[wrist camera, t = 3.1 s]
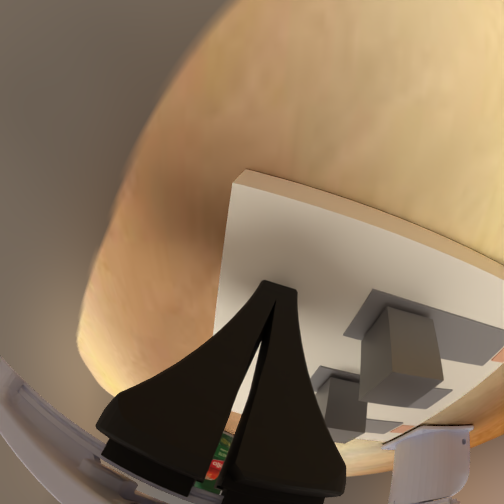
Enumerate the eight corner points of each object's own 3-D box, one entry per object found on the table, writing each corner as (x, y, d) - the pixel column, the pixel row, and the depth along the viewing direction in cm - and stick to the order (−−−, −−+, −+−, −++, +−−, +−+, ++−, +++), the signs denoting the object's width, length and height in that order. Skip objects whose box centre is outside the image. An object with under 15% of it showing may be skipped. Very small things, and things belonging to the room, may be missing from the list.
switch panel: (544, 289, 8) (554, 308, 7) (387, 428, 20) (386, 442, 19) (245, 168, 10) (231, 183, 9) (212, 388, 22) (206, 403, 21)
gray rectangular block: (368, 385, 13) (365, 432, 11) (349, 400, 14) (344, 443, 12) (330, 377, 13) (323, 426, 11) (315, 393, 15) (306, 437, 12)
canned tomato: (250, 442, 32) (227, 506, 23) (220, 442, 36) (199, 496, 28) (205, 420, 30) (175, 489, 21) (180, 421, 35) (153, 478, 26)
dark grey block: (432, 319, 9) (444, 380, 7) (404, 351, 11) (406, 407, 8) (387, 306, 9) (392, 371, 7) (361, 341, 11) (358, 400, 9)
